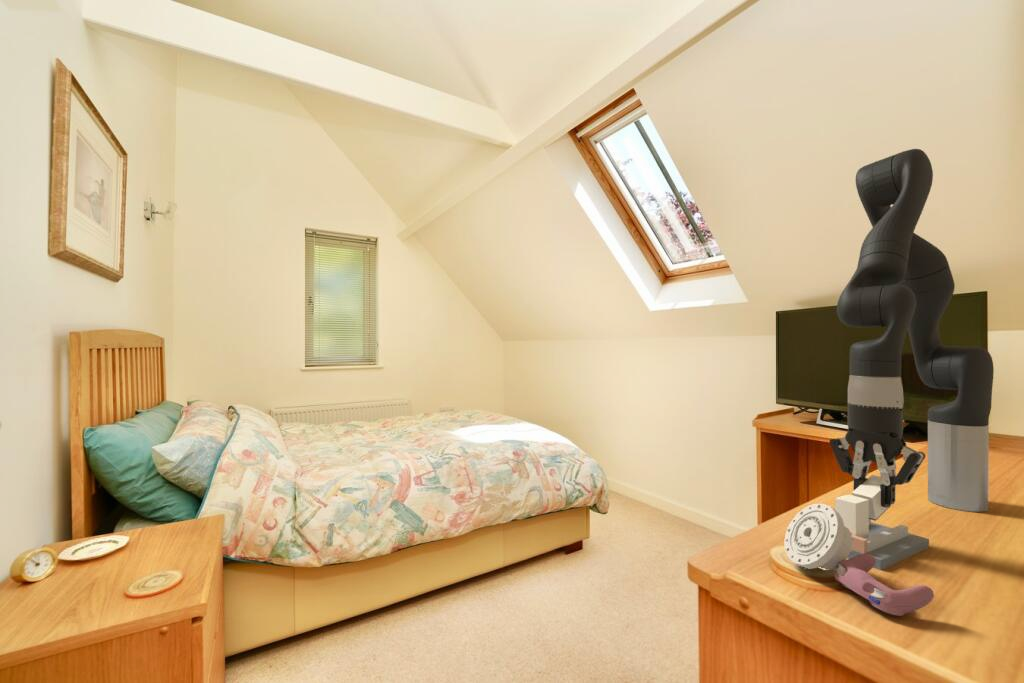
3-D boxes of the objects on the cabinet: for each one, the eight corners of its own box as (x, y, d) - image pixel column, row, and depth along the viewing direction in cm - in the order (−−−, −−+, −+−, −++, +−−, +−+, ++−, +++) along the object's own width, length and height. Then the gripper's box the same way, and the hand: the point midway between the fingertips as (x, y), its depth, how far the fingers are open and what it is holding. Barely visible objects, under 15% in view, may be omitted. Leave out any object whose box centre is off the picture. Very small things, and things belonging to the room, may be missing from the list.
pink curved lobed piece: (866, 583, 67) (821, 578, 66) (871, 552, 67) (826, 547, 66) (934, 627, 57) (881, 621, 56) (940, 590, 57) (887, 584, 56)
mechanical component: (776, 527, 76) (822, 490, 72) (799, 542, 76) (847, 506, 72) (791, 576, 68) (845, 536, 63) (818, 593, 67) (874, 555, 63)
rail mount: (854, 525, 87) (854, 479, 87) (929, 548, 77) (929, 496, 77) (804, 542, 79) (804, 492, 79) (880, 570, 70) (880, 513, 70)
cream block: (871, 474, 82) (851, 492, 79) (892, 479, 80) (872, 497, 77) (875, 498, 83) (855, 516, 80) (895, 503, 80) (876, 522, 77)
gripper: (819, 399, 84) (818, 494, 84) (914, 409, 72) (914, 520, 72) (841, 397, 88) (841, 488, 88) (936, 406, 75) (936, 512, 75)
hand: (874, 502), depth 80 cm, fingers closed on cream block, 3 cm apart
